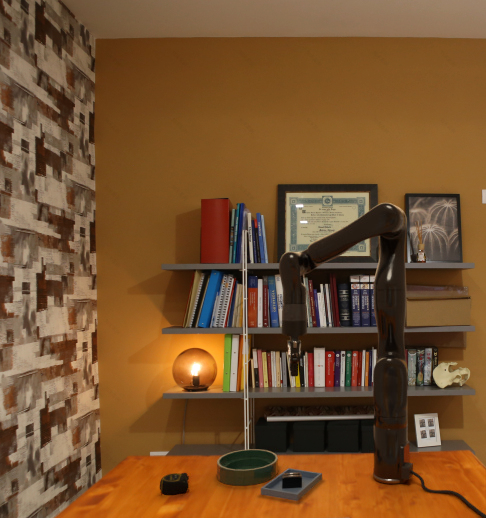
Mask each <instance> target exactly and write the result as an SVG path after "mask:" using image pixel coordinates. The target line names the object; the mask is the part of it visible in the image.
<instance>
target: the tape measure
mask: <svg viewBox="0 0 486 518" xmlns="http://www.w3.org/2000/svg"><path fill="white" fill-rule="evenodd" d="M189 477H190V476H189V475H188V473H187V472H181V473H178V472H177V473H176V472H175V473H169V474H166V475H164V476H163V477H161V479H160V481H159V490H160V492H161V494H163V495H166V496H174V495H178V494H182V493H187V492H188V490H189Z"/></svg>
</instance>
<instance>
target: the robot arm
mask: <svg viewBox="0 0 486 518" xmlns="http://www.w3.org/2000/svg"><path fill="white" fill-rule="evenodd" d="M407 226H408V219H407V215H406V213H405V211H404V210H403V209H402V208H400V207H399V206H398V205H395V204H393V203H390V202H381V203H379V204H377V205H375V206H374V207H372V208H371V209H370V210H368V211H367V212H365V213H363V214H362V215H361V216H359V217H358V218H357V219H355V220H354V221H351V222H350V223H349V224H347V225H344V226H343V227H341V228H340V229H338V230H335V231H333V232H331V233H329V234H327V235H324V236H323V237H321V238H319V239H317V240H314V241H313V242H311V243H309V244H308V246H307V248H306V249H304V250H301V251H286V252H284V253H283V254H281V257H280V259H279V262H278V271H279V277H280V282H281V286H282V308H281V335H283V336H288V339H289V340H286V341H287V345H286V346H287V353H288V357H289V371H290V377H298V376H299V364H300V360H301V358H300V357H301V348H302V341H301V340H299V337H300V336H306V335H307V334H308V306H307V301H308V300H307V296H308V295H307V292H308V291H307V287H306V285H305V284H304V283H302V276H304V275H306V274H309V273H311V272H312V271H314V270H315V269H317V268H318V267H320V266H321V265H323V264H325V263H328V262H330V261H332V260H334V259H336V258H339V257H341V256H342V255H344V254H345V253H346V252H347V253H348V251H350V250H351V249H352V248H353V247H355V246H357V245H358V244H360V243H362V242H364V241H367V240H369V239H372V238H376V237H378V239H379V259H378V263H377V266H376V271H375V275H374V280H373V311H374V319H375V323H376V329H377V342H378V343H377V355H376V362H375V365H374V367H373V371H372V372H373V373H372V403H373V473H372V476H373V480H375V481H377V482H379V483H382V484H390V485H394V484H395V485H396V484H405V483H406V482H407V481H409V480H410V479H411V478H412V476H414V477H416V478H417V479H418V480H419V481H420V485H421V488H422V489H423V490H424V491H425V492H427V493H430V494H431V493H432V494H443V495H444V494H447V495H453V496H455V497H458V498H459V499H461V501H462V502H463V503H465V504H466V506H467V507H469V508H470V509H472V510H473V511H474V512H475V513H476V514H478V515H479V516H480V517H482V518H486V513H484V512H483V511H482V510H480V509H478V508H477V507H476V506H475V505H473V504H472V503H471V502H469V500H467V498H466V497H464V496H463V495H462V494H460V493H459V492H457V491H454V490H449V489H439V490H436V489H430V488H428V487H427V486H426V485H425V479H424V478H423V477H422V476H421V475H420V474H418V473H417V472H415V471H414V463H413V462H410V455H411V454H410V449H411V448H410V447H411V446H410V445H411V444H410V443H411V442H410V440H408V407H409V406H408V403H409V402H408V372H409V369H408V363H407V357H406V349H405V328H406V327H405V326H406V319H407V298H408V297H407V272H406V271H407V270H406V257H405V253H406V252H405V251H406V237H407Z"/></svg>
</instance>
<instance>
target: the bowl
mask: <svg viewBox="0 0 486 518" xmlns="http://www.w3.org/2000/svg"><path fill="white" fill-rule="evenodd" d="M278 473H279V457H278V455H277V453H274V452H273V451H271V450H267V449H258V448H257V449H256V448H255V449H254V448H253V449H251V448H249V449H241V450H235V451H231V452H228V453H225V454H223V455H222V456H219V458H218V459H217V461H216V480H218V481H219V483H222V484H225V485H227V486H228V485H229V486H237V487H244V486H245V487H246V486H254V485H259V484H263V483H266V482H268V481H269V482H270V481H271V480H273V479H274V478H276V477H277V476H278Z"/></svg>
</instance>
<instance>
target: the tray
mask: <svg viewBox="0 0 486 518" xmlns="http://www.w3.org/2000/svg"><path fill="white" fill-rule="evenodd" d="M298 472H300V473H301V474H302V488H287V489H282V475H283V474H284V473H298ZM322 480H323V473H322V472H316V471H309V470H303V469H296V468H291V467H288V468H287V469H285V470H284V471H282V472H281V473H279V474H277V475H276V476H275V477H274V478H272V479H271V480H269V482H267V483H266V484H264V485H263V486H262V487H260V495H262V496H267V497H272V498H278V499H285V500H289V501H296V502H298V501H299V500H300V499H302V498H303V497H304V496H306V494H308V492H310V491H311V490H312V489H313V488H314V487H315V486H316V485H318V484H319V483H320V482H321V481H322Z"/></svg>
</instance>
